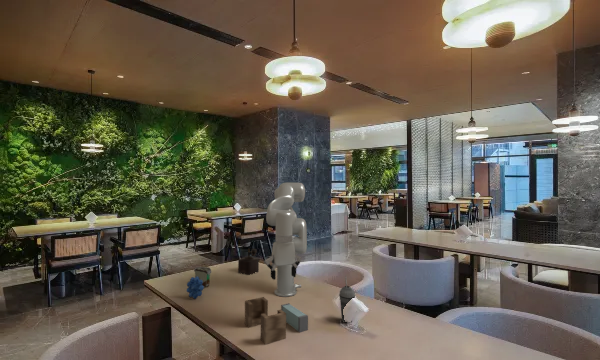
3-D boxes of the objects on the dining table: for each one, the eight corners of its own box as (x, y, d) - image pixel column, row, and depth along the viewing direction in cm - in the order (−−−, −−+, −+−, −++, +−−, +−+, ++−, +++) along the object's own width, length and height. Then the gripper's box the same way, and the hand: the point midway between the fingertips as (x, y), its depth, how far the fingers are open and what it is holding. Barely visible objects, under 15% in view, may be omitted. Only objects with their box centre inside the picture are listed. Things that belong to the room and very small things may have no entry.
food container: (215, 285, 191) (215, 268, 191) (207, 288, 185) (208, 271, 185) (202, 281, 197) (202, 265, 197) (194, 284, 192) (194, 267, 192)
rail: (288, 316, 147) (288, 303, 147) (307, 330, 133) (308, 315, 133) (281, 318, 144) (281, 304, 144) (299, 332, 131) (299, 317, 131)
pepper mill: (236, 273, 217) (237, 247, 217) (247, 269, 226) (248, 244, 226) (253, 276, 208) (254, 249, 208) (264, 272, 217) (264, 246, 218)
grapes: (208, 297, 169) (209, 275, 170) (199, 302, 163) (200, 278, 163) (193, 294, 175) (193, 272, 175) (183, 298, 169) (183, 275, 169)
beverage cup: (345, 325, 137) (345, 280, 137) (335, 319, 143) (336, 275, 144) (358, 322, 140) (358, 277, 141) (348, 316, 147) (349, 273, 147)
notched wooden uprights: (263, 318, 143) (263, 297, 144) (285, 338, 125) (286, 313, 126) (244, 323, 139) (244, 300, 139) (265, 344, 121) (265, 318, 121)
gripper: (297, 236, 148) (297, 273, 147) (262, 239, 140) (262, 277, 140) (304, 239, 141) (304, 277, 140) (268, 241, 134) (268, 282, 133)
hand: (283, 277), depth 140 cm, fingers open, 9 cm apart
